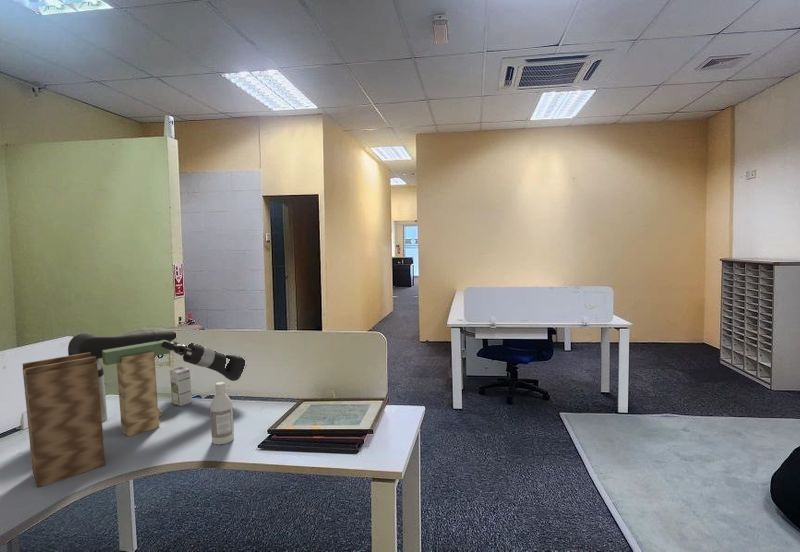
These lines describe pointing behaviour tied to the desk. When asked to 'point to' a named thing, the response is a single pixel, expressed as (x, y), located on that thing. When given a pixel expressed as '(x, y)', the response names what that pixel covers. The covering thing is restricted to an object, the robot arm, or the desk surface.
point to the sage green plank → (134, 351)
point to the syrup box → (180, 386)
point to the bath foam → (221, 416)
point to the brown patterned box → (63, 417)
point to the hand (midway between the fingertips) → (158, 341)
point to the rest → (138, 393)
